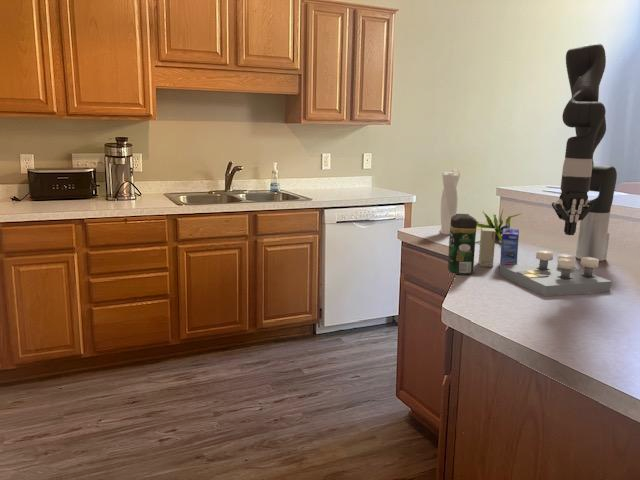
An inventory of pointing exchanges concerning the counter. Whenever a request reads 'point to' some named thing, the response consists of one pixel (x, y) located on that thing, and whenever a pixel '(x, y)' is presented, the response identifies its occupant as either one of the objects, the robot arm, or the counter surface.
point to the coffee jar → (462, 244)
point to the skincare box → (487, 247)
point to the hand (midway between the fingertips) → (569, 234)
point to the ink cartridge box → (509, 246)
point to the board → (554, 280)
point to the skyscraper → (448, 200)
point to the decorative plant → (496, 224)
